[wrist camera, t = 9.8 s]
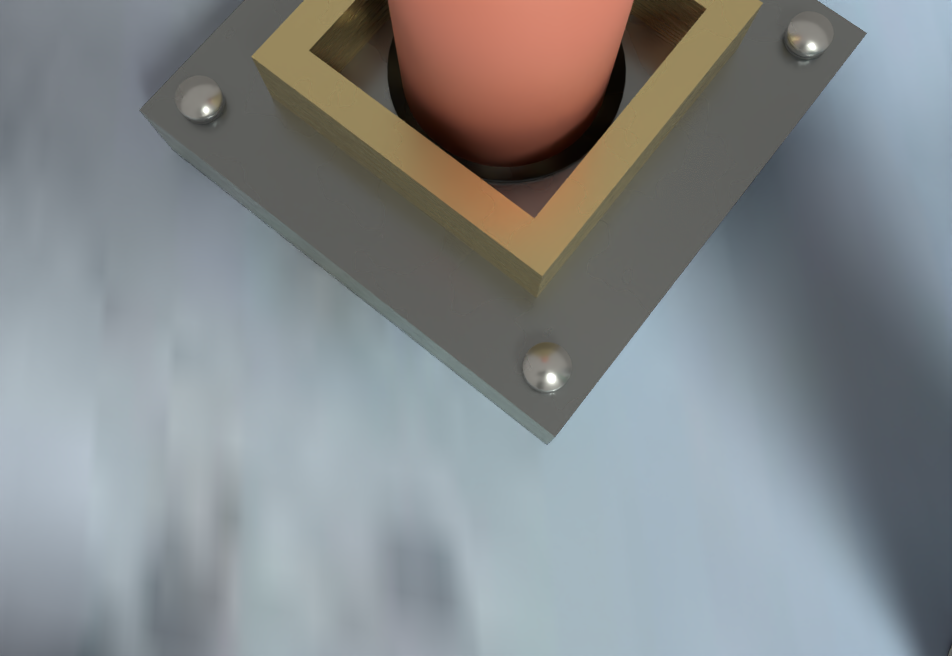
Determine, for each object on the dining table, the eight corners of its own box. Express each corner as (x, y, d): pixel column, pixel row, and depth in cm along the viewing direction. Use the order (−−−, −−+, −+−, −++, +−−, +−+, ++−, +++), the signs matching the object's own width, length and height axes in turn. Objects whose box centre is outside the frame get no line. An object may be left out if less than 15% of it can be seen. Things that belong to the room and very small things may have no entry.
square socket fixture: (547, 444, 23) (563, 429, 19) (172, 149, 25) (107, 71, 20) (829, 79, 25) (903, -12, 21) (467, -165, 27) (464, -296, 23)
